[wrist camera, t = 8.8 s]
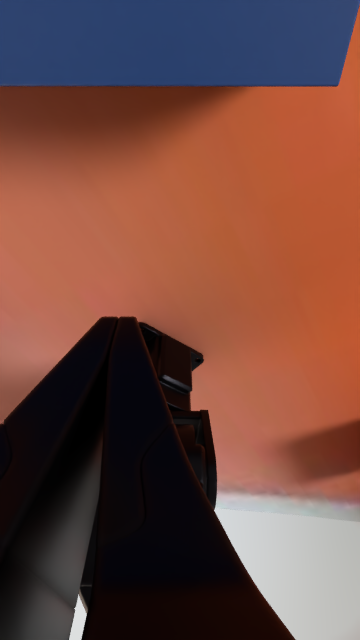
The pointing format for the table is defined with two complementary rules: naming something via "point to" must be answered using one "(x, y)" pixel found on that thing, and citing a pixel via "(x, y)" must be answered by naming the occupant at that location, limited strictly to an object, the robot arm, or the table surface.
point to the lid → (174, 42)
